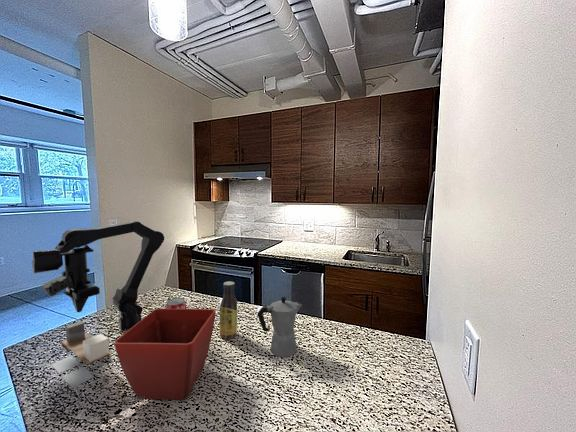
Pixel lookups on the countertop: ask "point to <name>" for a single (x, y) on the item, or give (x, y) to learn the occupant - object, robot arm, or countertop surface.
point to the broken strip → (75, 376)
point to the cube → (95, 347)
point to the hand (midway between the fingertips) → (79, 311)
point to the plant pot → (166, 352)
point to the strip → (77, 340)
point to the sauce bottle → (228, 312)
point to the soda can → (176, 303)
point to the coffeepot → (281, 326)
